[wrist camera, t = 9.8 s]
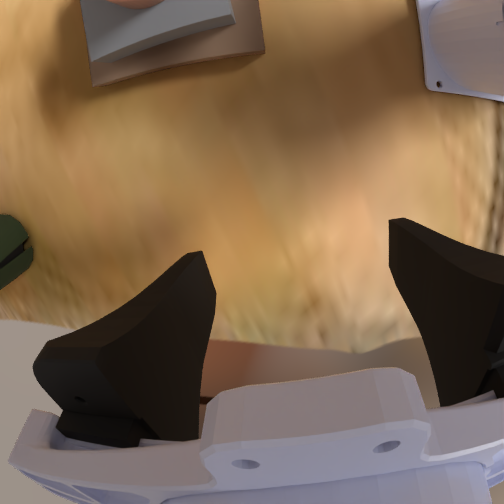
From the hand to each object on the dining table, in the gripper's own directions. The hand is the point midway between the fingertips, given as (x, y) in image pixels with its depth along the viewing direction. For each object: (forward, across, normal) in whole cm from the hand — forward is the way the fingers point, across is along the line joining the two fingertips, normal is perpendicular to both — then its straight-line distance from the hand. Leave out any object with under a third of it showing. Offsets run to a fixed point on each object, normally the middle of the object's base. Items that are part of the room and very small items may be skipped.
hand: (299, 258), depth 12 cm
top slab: (+9, +5, -15) cm, 18 cm away
